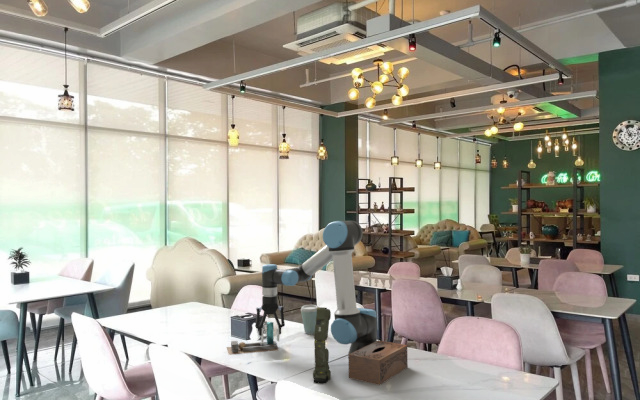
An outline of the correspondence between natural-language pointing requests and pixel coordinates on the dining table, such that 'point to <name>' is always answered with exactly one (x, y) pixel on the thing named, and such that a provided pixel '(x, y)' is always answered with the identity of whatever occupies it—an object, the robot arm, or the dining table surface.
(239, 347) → the walnut
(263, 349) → the press base
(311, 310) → the disposable coffee cup
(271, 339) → the ram
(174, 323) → the dining table surface
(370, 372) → the tissue box cover
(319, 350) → the mechanical leg
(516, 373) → the dining table surface
